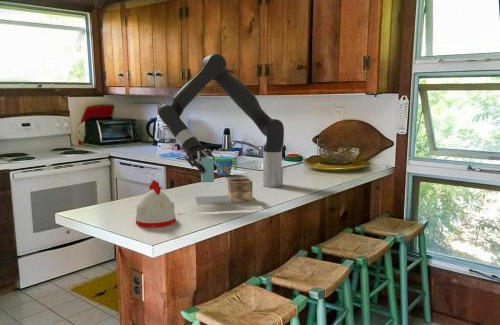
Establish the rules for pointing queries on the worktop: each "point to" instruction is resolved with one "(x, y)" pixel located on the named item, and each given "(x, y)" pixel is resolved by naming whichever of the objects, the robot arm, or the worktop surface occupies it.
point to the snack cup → (224, 165)
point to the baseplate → (215, 200)
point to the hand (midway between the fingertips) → (210, 170)
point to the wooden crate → (240, 189)
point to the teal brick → (207, 169)
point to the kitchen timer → (155, 208)
